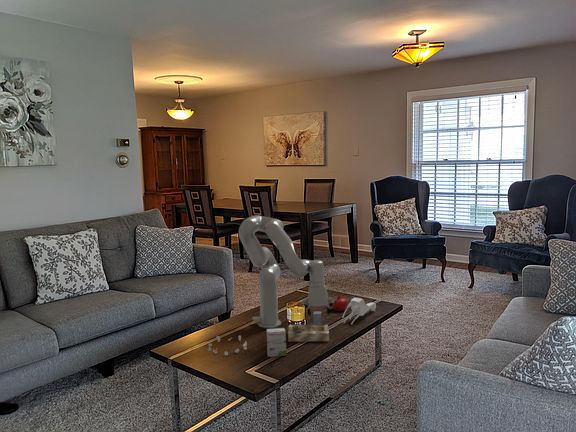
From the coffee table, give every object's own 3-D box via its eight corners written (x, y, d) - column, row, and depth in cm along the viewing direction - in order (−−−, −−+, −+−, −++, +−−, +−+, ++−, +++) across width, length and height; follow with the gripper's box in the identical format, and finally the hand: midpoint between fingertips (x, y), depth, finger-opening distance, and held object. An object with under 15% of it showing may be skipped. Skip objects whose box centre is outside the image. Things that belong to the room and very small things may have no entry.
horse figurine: (356, 340, 251) (379, 309, 268) (349, 314, 243) (373, 284, 261) (347, 337, 254) (371, 307, 272) (340, 312, 247) (365, 282, 265)
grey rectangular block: (313, 328, 243) (313, 314, 242) (313, 326, 246) (313, 311, 246) (321, 328, 242) (321, 314, 241) (321, 325, 246) (320, 311, 245)
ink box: (285, 351, 214) (284, 327, 213) (286, 356, 209) (285, 331, 208) (267, 352, 213) (266, 328, 212) (267, 357, 208) (266, 332, 207)
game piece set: (203, 343, 227) (203, 336, 226) (242, 337, 234) (242, 330, 233) (211, 359, 209) (210, 351, 208) (253, 352, 215) (253, 344, 215)
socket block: (288, 341, 226) (288, 333, 226) (289, 332, 238) (288, 324, 237) (329, 341, 225) (329, 332, 225) (327, 332, 237) (327, 324, 237)
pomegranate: (351, 309, 273) (351, 293, 272) (341, 313, 266) (340, 297, 265) (337, 305, 280) (337, 290, 279) (327, 309, 273) (327, 294, 271)
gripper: (300, 286, 238) (302, 318, 240) (334, 285, 238) (335, 317, 239) (301, 282, 246) (302, 313, 248) (333, 281, 245) (334, 312, 247)
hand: (318, 315), depth 243 cm, fingers open, 9 cm apart
